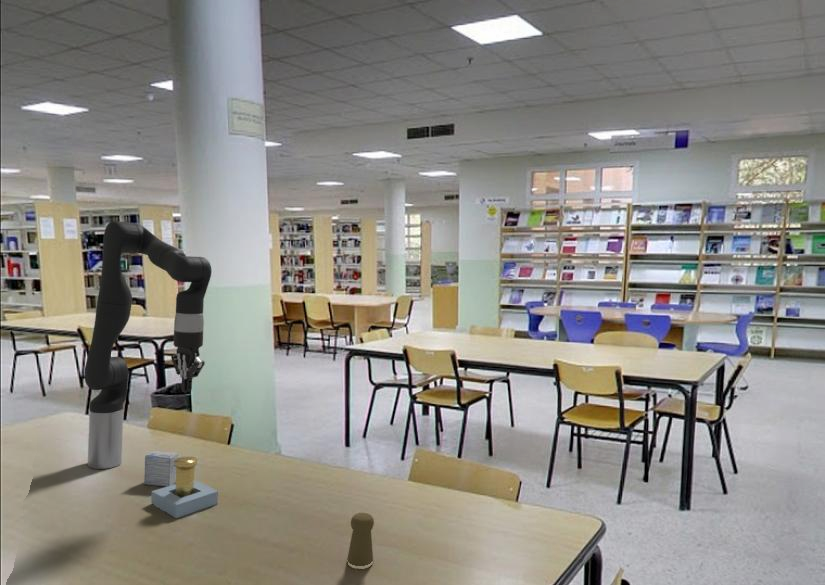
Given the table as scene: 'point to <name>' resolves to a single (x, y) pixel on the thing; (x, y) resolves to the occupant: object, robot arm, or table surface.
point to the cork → (361, 540)
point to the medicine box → (160, 468)
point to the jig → (184, 499)
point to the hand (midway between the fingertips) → (186, 391)
